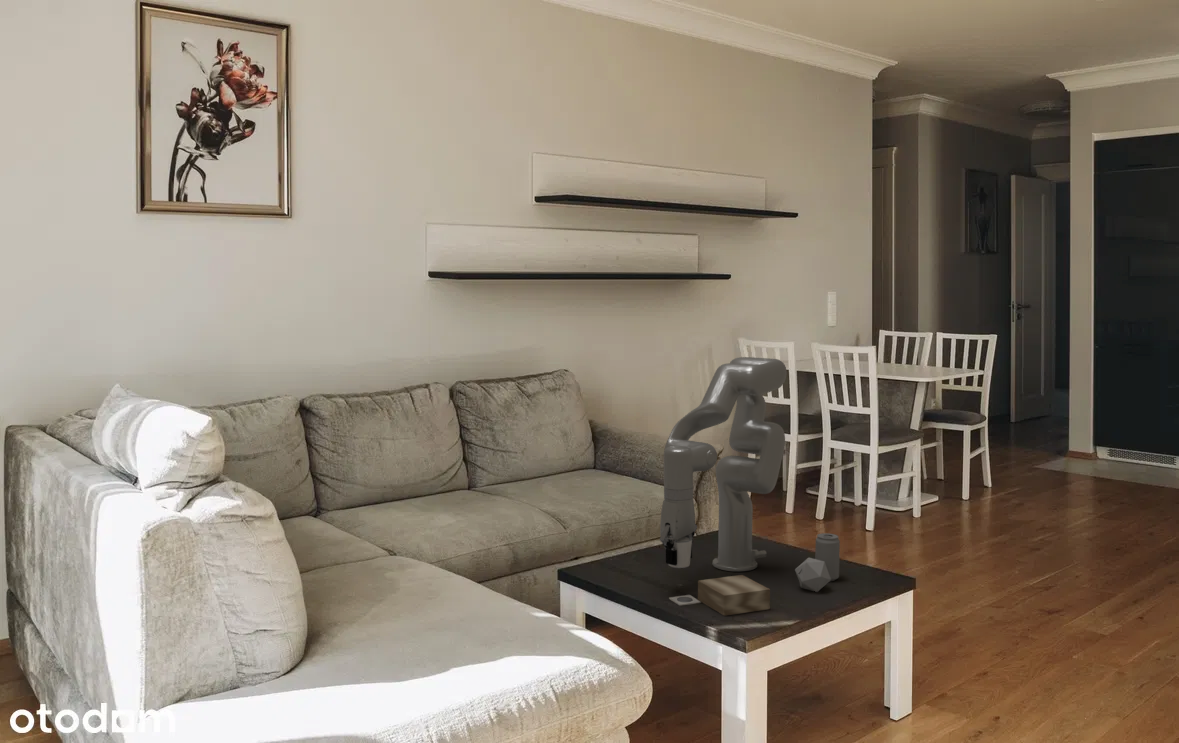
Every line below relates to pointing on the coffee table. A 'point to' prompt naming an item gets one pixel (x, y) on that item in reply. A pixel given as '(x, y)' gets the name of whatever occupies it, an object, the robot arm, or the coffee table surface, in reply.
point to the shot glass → (683, 552)
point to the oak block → (733, 595)
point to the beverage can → (828, 553)
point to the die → (812, 574)
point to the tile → (684, 600)
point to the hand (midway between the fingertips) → (679, 560)
